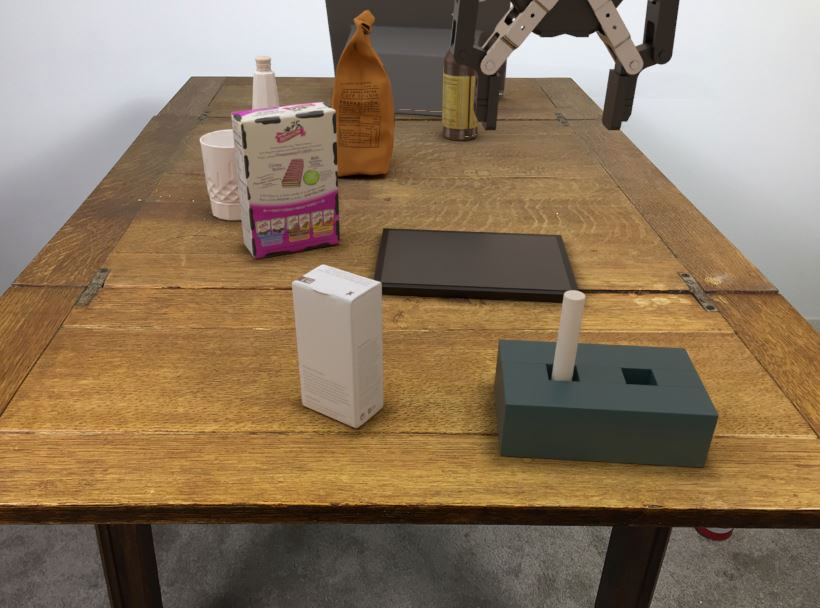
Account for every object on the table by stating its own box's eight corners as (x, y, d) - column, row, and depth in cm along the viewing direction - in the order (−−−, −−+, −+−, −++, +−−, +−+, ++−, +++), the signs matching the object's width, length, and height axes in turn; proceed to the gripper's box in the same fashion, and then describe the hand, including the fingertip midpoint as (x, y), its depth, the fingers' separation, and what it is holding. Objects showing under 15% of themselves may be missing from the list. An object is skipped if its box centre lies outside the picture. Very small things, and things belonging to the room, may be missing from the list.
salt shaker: (253, 124, 141) (249, 60, 136) (250, 116, 146) (245, 54, 140) (283, 122, 142) (280, 59, 137) (279, 114, 147) (276, 53, 141)
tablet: (383, 235, 99) (383, 227, 98) (560, 242, 97) (561, 234, 96) (372, 294, 85) (372, 285, 84) (578, 303, 83) (580, 294, 83)
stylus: (563, 417, 66) (584, 290, 60) (565, 428, 65) (587, 300, 58) (544, 416, 66) (562, 289, 60) (546, 427, 65) (565, 299, 59)
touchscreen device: (504, 94, 161) (519, -70, 145) (495, 123, 145) (510, -58, 129) (339, 84, 168) (336, -74, 151) (313, 110, 151) (306, -63, 135)
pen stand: (493, 387, 70) (498, 338, 67) (673, 396, 69) (685, 347, 66) (500, 456, 62) (505, 404, 59) (704, 467, 60) (719, 415, 58)
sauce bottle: (468, 129, 139) (476, 9, 129) (483, 139, 134) (493, 15, 124) (434, 132, 137) (440, 10, 127) (448, 143, 132) (455, 16, 122)
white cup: (196, 210, 105) (187, 137, 100) (244, 196, 110) (238, 125, 105) (229, 227, 100) (222, 151, 95) (278, 212, 105) (274, 138, 100)
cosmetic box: (385, 406, 67) (388, 280, 61) (354, 433, 64) (354, 302, 58) (328, 383, 70) (325, 260, 64) (296, 407, 67) (289, 280, 61)
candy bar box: (326, 230, 100) (322, 99, 92) (341, 245, 96) (339, 109, 88) (240, 244, 96) (229, 109, 88) (252, 260, 92) (241, 120, 84)
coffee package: (397, 155, 126) (401, 8, 115) (391, 182, 115) (394, 22, 104) (336, 153, 127) (334, 7, 116) (324, 179, 116) (320, 21, 105)
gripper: (470, -149, 43) (453, 144, 51) (729, -148, 43) (670, 143, 51) (454, -147, 49) (441, 113, 57) (679, -146, 49) (634, 113, 58)
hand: (549, 127), depth 54 cm, fingers open, 8 cm apart
